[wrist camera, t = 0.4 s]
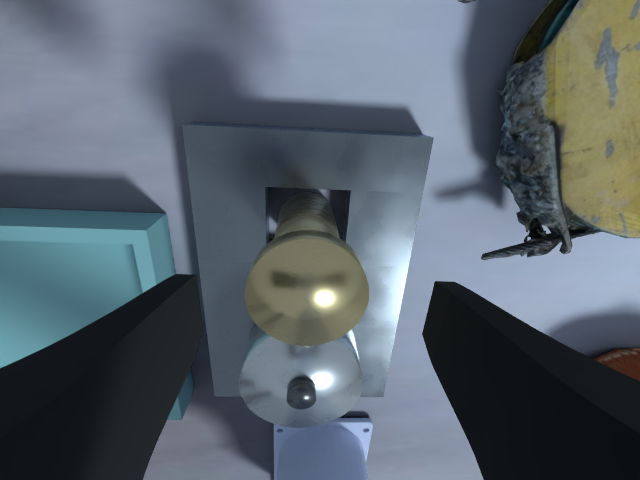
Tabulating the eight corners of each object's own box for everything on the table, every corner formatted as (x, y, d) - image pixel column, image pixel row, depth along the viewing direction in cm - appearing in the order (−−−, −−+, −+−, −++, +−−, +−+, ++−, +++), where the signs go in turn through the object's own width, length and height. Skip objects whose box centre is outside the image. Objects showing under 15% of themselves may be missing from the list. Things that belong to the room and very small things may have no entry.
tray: (193, 388, 24) (182, 419, 21) (-3, 388, 23) (-38, 420, 21) (166, 213, 18) (146, 230, 16) (-99, 203, 17) (-161, 220, 15)
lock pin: (340, 252, 19) (362, 346, 12) (269, 250, 19) (247, 344, 12) (347, 183, 18) (376, 243, 10) (268, 179, 17) (241, 239, 10)
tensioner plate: (378, 379, 24) (397, 450, 19) (219, 379, 23) (197, 452, 19) (423, 134, 17) (470, 149, 12) (192, 121, 16) (143, 133, 11)
